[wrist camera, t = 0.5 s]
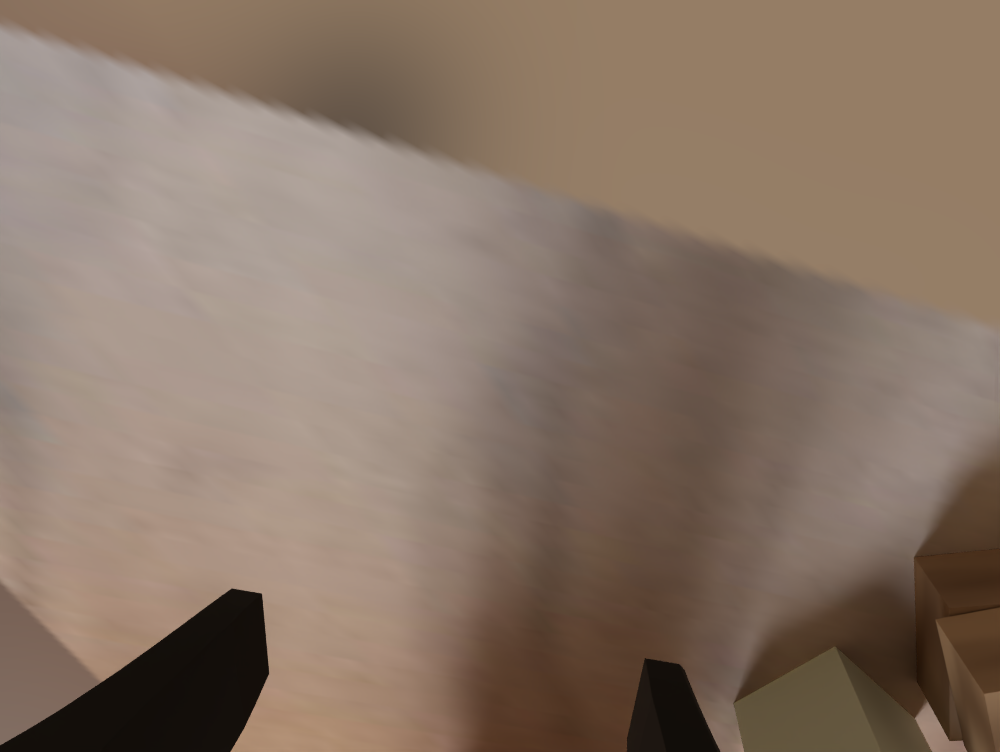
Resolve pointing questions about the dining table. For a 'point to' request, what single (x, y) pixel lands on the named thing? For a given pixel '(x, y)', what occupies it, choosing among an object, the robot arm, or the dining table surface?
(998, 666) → the tower top
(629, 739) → the robot arm
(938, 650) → the tower bottom
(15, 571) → the dining table surface
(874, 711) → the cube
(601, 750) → the dining table surface
